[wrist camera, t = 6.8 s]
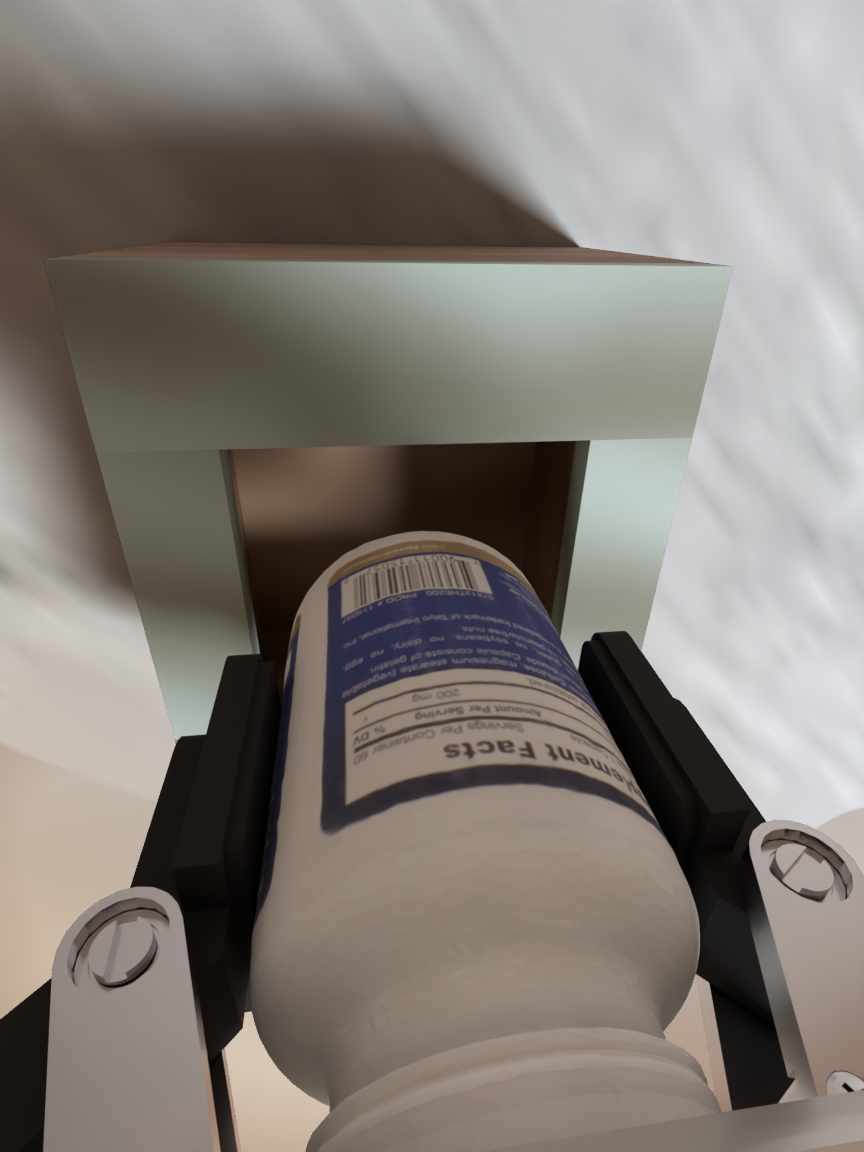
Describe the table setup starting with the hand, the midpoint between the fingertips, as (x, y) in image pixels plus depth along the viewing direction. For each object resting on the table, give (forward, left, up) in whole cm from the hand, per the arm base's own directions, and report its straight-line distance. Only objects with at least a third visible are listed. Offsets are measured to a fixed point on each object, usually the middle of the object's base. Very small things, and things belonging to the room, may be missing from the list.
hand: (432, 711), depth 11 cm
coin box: (0, 0, -12) cm, 12 cm away
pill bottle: (0, 0, -3) cm, 3 cm away
